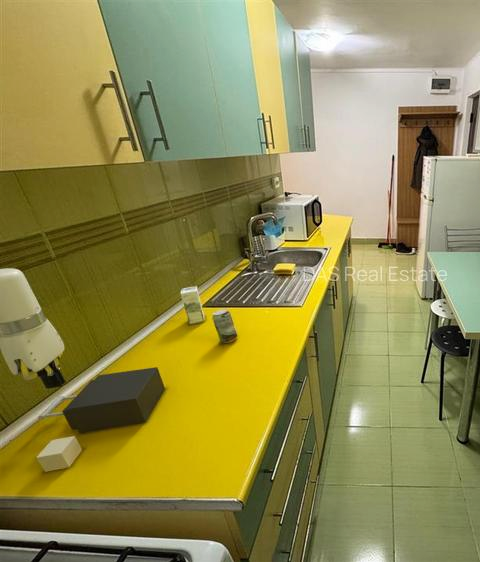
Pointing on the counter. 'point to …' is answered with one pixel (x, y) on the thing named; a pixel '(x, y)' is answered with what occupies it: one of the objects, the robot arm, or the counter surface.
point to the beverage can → (224, 325)
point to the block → (59, 454)
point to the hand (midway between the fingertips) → (56, 385)
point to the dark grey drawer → (65, 411)
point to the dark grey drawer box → (117, 400)
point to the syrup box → (192, 305)
